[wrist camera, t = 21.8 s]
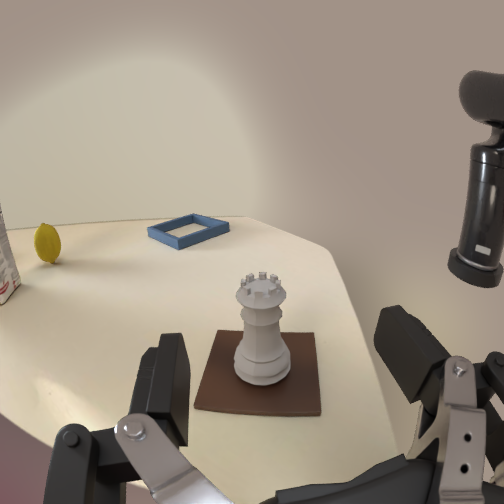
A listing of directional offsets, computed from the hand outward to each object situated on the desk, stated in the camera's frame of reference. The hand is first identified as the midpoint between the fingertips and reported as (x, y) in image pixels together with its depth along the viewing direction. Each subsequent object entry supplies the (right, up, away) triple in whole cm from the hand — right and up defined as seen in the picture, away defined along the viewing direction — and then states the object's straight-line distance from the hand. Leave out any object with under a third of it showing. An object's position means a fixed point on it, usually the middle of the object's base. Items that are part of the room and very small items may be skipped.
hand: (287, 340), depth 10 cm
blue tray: (-14, +7, +42) cm, 45 cm away
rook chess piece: (0, -6, +10) cm, 12 cm away
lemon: (-39, +1, +32) cm, 50 cm away
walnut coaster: (-1, -6, +11) cm, 12 cm away
